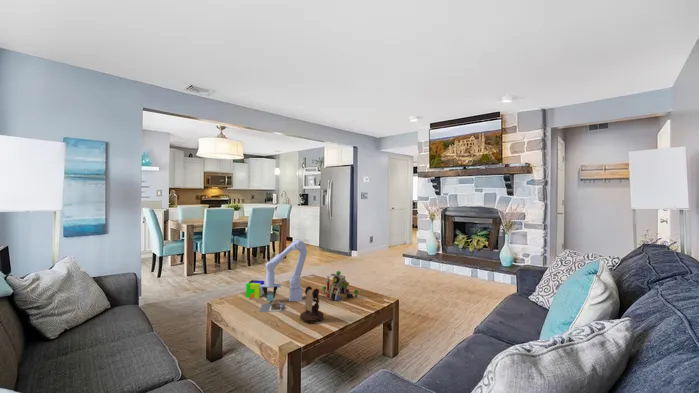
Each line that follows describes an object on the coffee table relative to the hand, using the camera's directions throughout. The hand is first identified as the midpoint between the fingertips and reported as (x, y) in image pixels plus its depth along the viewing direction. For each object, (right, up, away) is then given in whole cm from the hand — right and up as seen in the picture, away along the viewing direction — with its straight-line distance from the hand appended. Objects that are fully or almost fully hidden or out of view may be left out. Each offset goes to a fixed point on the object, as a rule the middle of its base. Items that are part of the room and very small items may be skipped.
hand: (270, 297), depth 217 cm
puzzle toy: (-15, -4, +15) cm, 22 cm away
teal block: (0, -2, 0) cm, 2 cm away
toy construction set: (+47, -5, +18) cm, 50 cm away
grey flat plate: (+4, -4, -9) cm, 11 cm away
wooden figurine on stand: (+33, -5, -25) cm, 42 cm away
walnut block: (+7, -4, -11) cm, 13 cm away
